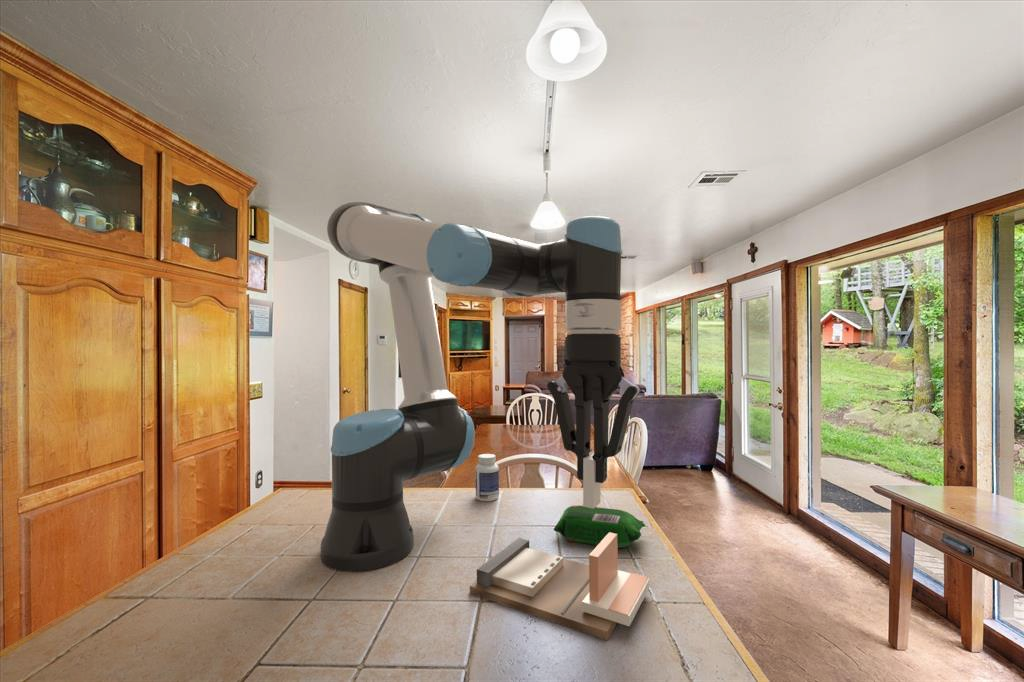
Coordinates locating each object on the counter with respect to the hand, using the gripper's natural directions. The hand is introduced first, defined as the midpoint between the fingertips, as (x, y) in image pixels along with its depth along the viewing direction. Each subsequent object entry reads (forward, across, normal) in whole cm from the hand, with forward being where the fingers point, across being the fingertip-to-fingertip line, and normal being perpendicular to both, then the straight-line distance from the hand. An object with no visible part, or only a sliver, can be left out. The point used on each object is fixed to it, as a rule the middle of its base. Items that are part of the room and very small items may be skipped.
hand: (591, 504), depth 60 cm
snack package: (+14, -5, +19) cm, 24 cm away
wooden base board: (+13, -5, 0) cm, 14 cm away
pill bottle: (+14, -35, +27) cm, 47 cm away
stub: (+12, +4, 0) cm, 12 cm away
